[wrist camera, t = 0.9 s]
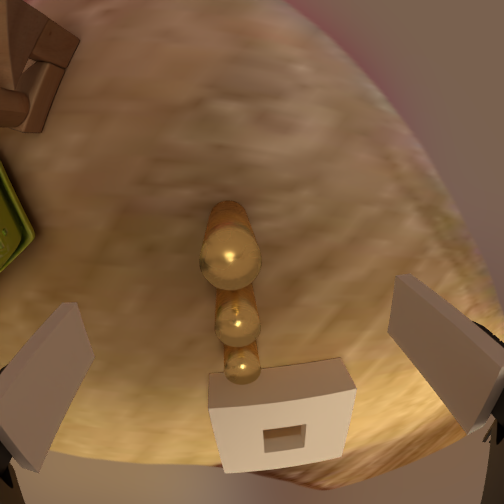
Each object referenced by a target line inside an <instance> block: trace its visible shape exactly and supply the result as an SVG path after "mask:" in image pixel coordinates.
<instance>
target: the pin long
mask: <svg viewBox="0 0 504 504" xmlns="http://www.w3.org/2000/svg"><path fill="white" fill-rule="evenodd" d="M199 263H200V269H201V272H202V274H203V276H204V277H205V279H206V280H207V281H208V282H209V283H210V284H212V285H213V286H215V287H217V288H220V289H223V290H238V289H241V288H244V287H246V286H247V285H249V284H250V283H251V282H253V281H254V279H255V278H256V277H257V275H258V274H259V271H260V268H261V263H262V258H261V253H260V250H259V247H258V244H257V241H256V239H255V236H254V233H253V230H252V228H251V225H250V222H249V219H248V216H247V214H246V211H245V209H244V208H243V207H242V206H241V205H240V204H239V203H237V202H234V201H223V202H220V203H218V204H217V205H216V206H215V207H214V208H213V209H212V211H211V213H210V216H209V220H208V224H207V228H206V232H205V236H204V241H203V245H202V249H201V253H200V259H199Z"/></svg>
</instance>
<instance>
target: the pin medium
mask: <svg viewBox="0 0 504 504" xmlns="http://www.w3.org/2000/svg"><path fill="white" fill-rule="evenodd" d="M260 330H261V325H260V320H259V315H258V311H257V306H256V301H255V296H254V292H253V287H252V283H250V284H249V285H247V286H246V287H244V288H241V289H238V290H223V289H220V288H217V290H216V312H215V333H216V335H217V337H218V338H219V340H220V341H221V342H223V343H224V344H226V345H228V346H232V347H243V346H246V345H249V344H251V343H252V342H253V341H255V340H256V339H257V337H258V336H259V333H260Z"/></svg>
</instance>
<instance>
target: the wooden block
mask: <svg viewBox="0 0 504 504" xmlns="http://www.w3.org/2000/svg"><path fill="white" fill-rule="evenodd" d="M78 43H79V39H78V38H77V37H75V36H74V35H73V34H71V33H70V32H68V31H67V30H65V29H64V28H63V27H61V26H60V25H58V24H57V23H55V22H54V21H52V20H51V19H49V18H48V17H47V16H46V15H44V14H43V13H41V12H40V11H38V10H37V9H35V8H34V7H32V6H30V5H29V4H27V3H26V2H24V1H23V0H0V127H8V128H11V129H14V130H17V131H20V132H22V133H40V132H41V131H42V128H43V125H44V122H45V119H46V117H47V114H48V111H49V108H50V106H51V103H52V100H53V98H54V95H55V93H56V90H57V88H58V86H59V83H60V81H61V78H62V76H63V74H64V71H65V70H64V69H63V68H66V67H67V66H68V63H69V61H70V59H71V57H72V55H73V53H74V51H75V49H76V47H77V45H78ZM28 58H29V59H31V60H34V61H36V63H35V64H33V65H32V66H31V67H29V68H28V69H27V70H26V71H24V72H23V69H24V67H25V65H26V62H27V60H28ZM22 72H23V73H22Z"/></svg>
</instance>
